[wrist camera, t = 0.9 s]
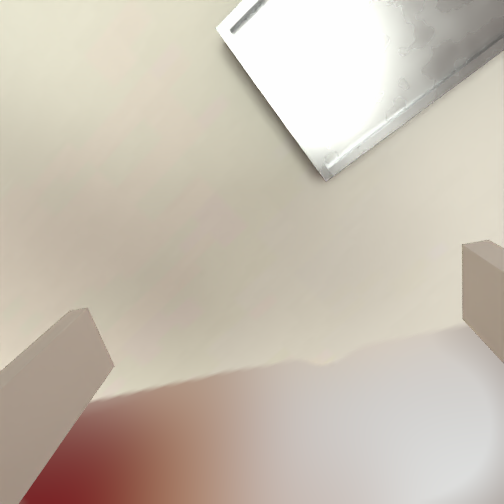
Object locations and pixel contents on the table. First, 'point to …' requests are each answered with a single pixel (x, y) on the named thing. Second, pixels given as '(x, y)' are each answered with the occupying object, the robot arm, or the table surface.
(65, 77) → the table surface
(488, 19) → the grey serving tray
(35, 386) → the robot arm
